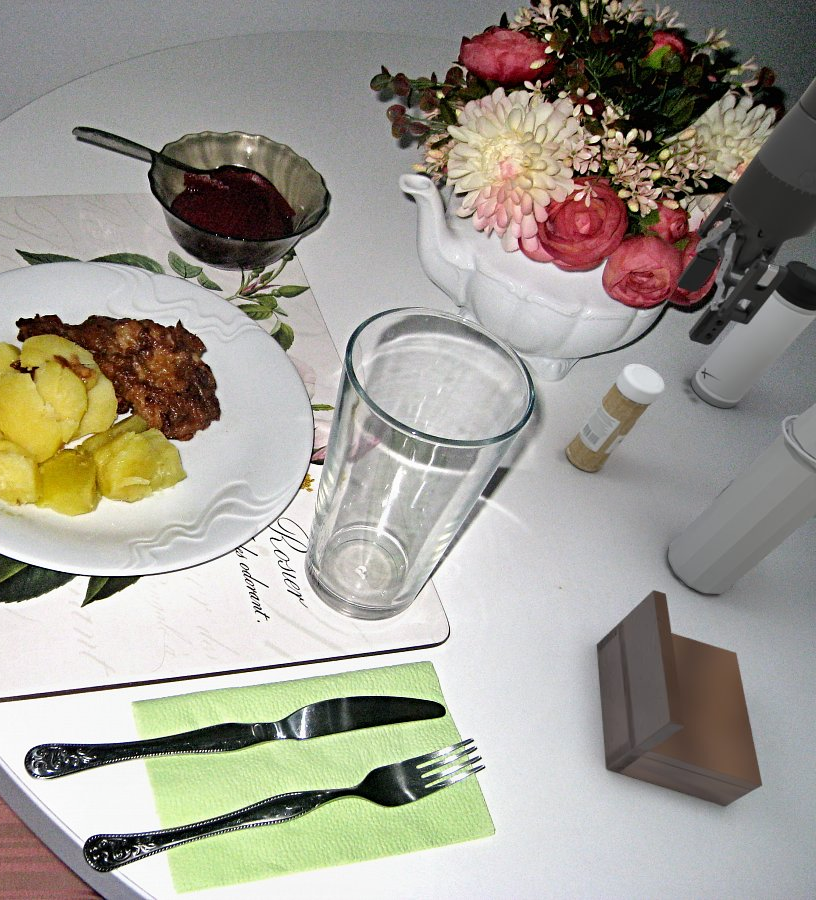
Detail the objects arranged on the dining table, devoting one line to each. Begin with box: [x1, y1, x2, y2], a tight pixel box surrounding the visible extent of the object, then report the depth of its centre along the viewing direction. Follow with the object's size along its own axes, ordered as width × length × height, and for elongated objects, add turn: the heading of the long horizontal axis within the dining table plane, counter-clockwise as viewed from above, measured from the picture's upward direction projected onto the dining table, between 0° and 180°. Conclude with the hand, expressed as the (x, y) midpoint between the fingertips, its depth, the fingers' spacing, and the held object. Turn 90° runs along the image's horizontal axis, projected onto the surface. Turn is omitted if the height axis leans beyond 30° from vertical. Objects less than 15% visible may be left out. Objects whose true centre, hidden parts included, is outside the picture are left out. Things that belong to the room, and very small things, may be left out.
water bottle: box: [667, 402, 816, 595], centre depth 88 cm, size 9×8×25 cm
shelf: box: [596, 589, 763, 807], centre depth 79 cm, size 11×13×10 cm
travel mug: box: [691, 260, 816, 409], centre depth 111 cm, size 6×7×20 cm
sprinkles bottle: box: [565, 363, 665, 473], centre depth 100 cm, size 5×5×13 cm
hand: (691, 313), depth 87 cm, fingers open, 8 cm apart
